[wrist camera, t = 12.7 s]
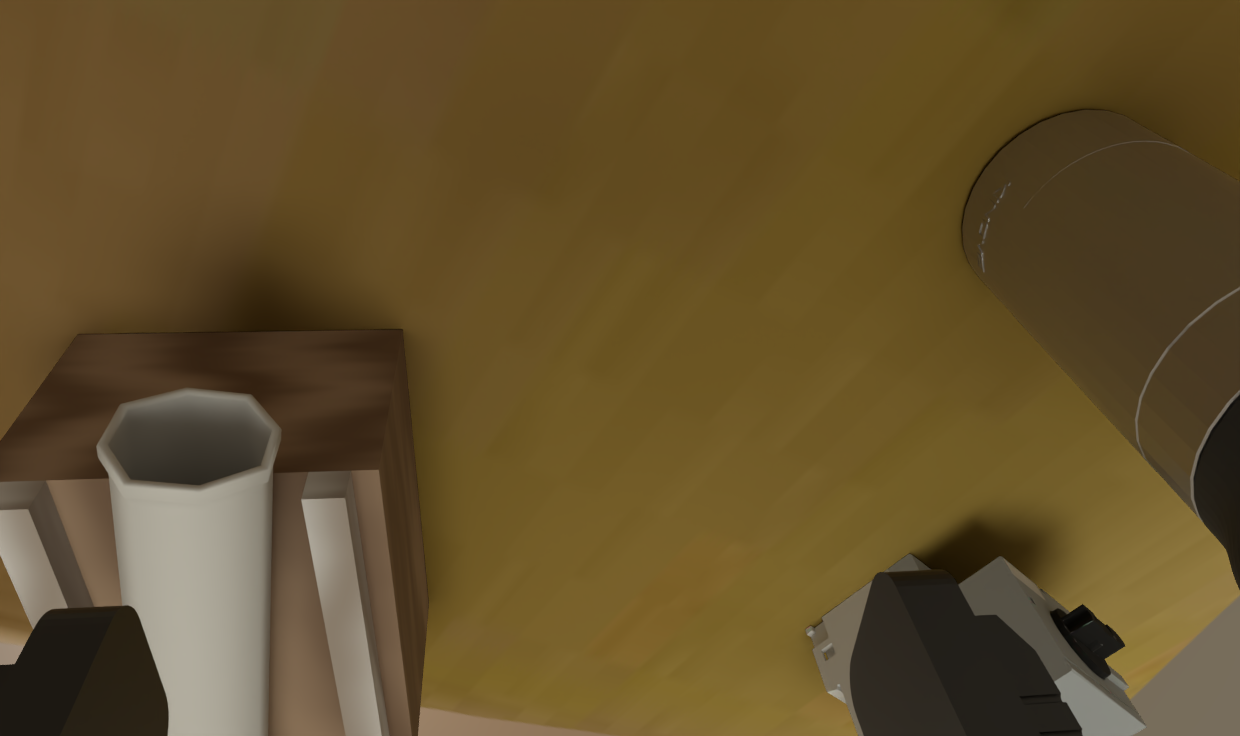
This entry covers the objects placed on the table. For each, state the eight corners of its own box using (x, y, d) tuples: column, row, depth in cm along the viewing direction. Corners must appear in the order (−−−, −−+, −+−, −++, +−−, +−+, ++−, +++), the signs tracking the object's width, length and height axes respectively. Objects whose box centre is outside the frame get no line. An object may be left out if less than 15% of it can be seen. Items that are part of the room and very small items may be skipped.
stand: (402, 329, 42) (373, 496, 33) (428, 603, 52) (412, 793, 43) (77, 334, 41) (-51, 512, 31) (168, 615, 51) (91, 816, 41)
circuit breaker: (1063, 549, 56) (1226, 778, 43) (877, 676, 60) (976, 915, 48) (995, 490, 52) (1151, 720, 40) (805, 629, 57) (890, 873, 45)
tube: (279, 898, 42) (294, 480, 29) (147, 939, 40) (96, 503, 26) (263, 792, 46) (270, 380, 32) (142, 824, 43) (95, 392, 30)
